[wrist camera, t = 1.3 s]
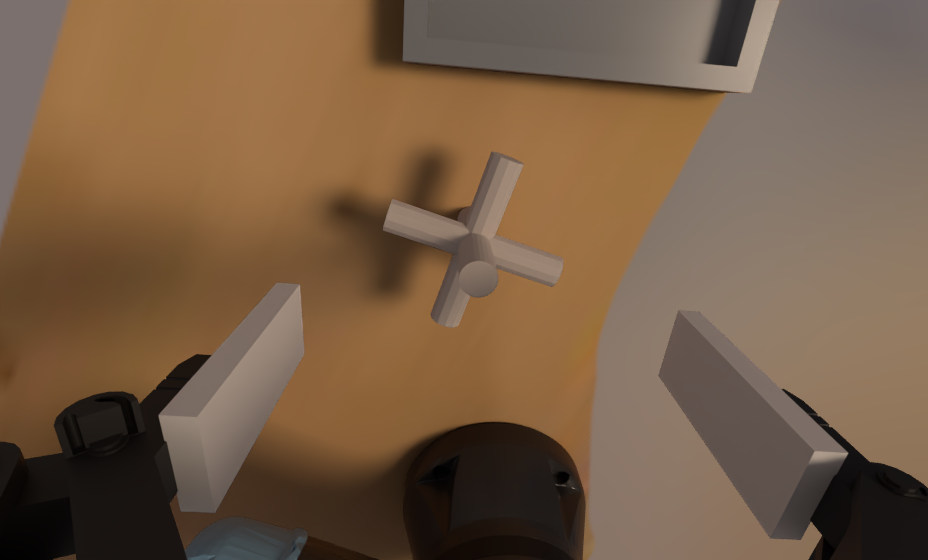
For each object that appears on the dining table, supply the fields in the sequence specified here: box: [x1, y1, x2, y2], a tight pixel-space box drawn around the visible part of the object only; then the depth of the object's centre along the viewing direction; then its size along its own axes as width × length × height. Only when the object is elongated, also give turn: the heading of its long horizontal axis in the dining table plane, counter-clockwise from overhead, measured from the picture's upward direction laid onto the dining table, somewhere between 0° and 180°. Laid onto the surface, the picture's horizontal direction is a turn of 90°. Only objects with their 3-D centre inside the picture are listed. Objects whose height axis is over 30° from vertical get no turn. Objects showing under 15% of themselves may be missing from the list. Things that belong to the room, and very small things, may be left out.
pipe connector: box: [383, 152, 564, 328], centre depth 25 cm, size 10×10×10 cm
